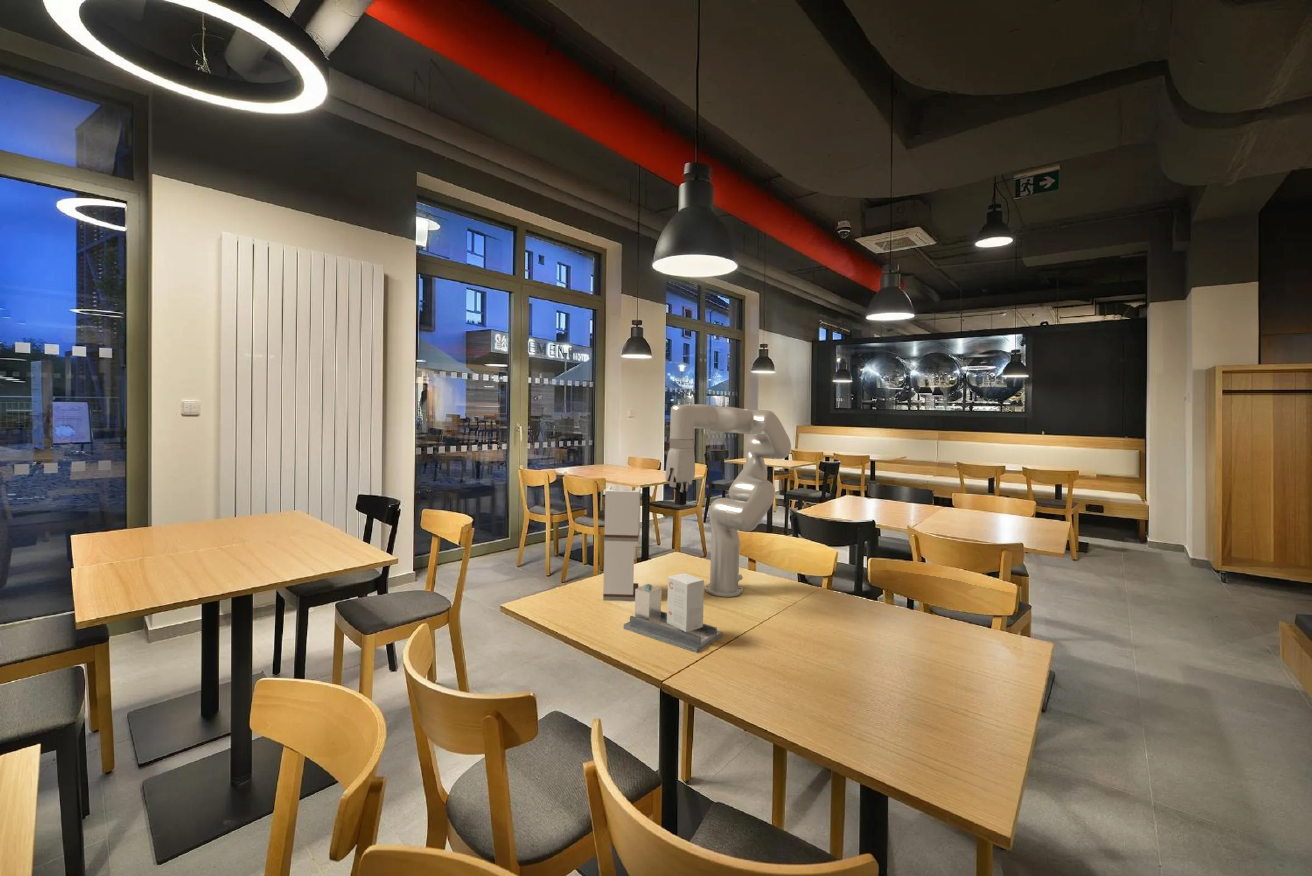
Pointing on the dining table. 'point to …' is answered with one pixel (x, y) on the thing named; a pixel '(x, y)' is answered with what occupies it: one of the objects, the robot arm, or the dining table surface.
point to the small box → (685, 602)
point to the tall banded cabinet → (620, 543)
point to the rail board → (665, 623)
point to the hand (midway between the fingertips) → (680, 504)
